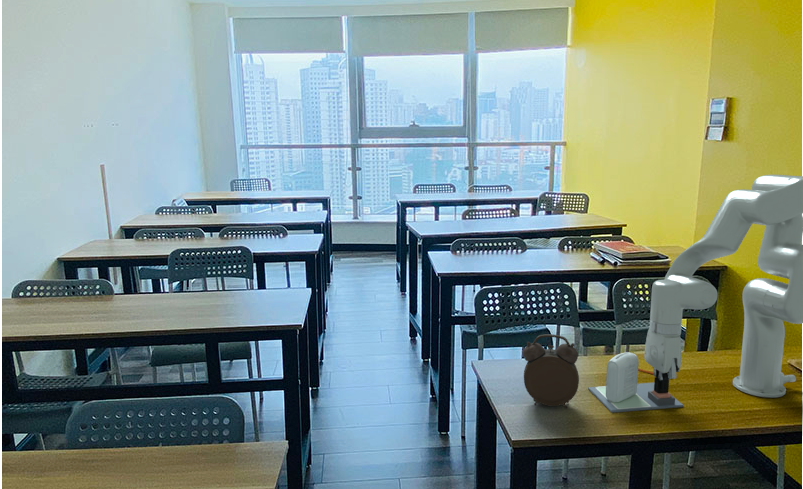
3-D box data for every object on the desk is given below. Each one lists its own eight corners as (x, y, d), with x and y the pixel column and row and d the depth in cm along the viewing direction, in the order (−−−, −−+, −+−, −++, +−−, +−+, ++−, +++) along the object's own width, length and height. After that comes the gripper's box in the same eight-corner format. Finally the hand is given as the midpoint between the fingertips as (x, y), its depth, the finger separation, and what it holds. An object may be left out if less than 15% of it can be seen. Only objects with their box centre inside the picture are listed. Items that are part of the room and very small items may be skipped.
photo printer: (625, 388, 156) (627, 347, 153) (639, 394, 152) (641, 351, 150) (602, 398, 150) (604, 356, 148) (616, 404, 146) (618, 361, 144)
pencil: (670, 380, 162) (670, 377, 162) (609, 363, 176) (609, 361, 176) (671, 379, 163) (671, 376, 163) (610, 363, 176) (610, 360, 176)
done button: (663, 396, 150) (663, 388, 149) (670, 401, 147) (670, 394, 146) (652, 397, 149) (652, 389, 149) (658, 402, 146) (659, 394, 146)
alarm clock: (577, 400, 151) (579, 331, 147) (578, 413, 144) (580, 341, 140) (523, 395, 155) (524, 328, 151) (521, 407, 148) (522, 337, 144)
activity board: (654, 384, 159) (654, 376, 159) (683, 406, 146) (683, 398, 145) (588, 389, 157) (588, 381, 157) (611, 412, 144) (611, 404, 143)
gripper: (636, 318, 151) (633, 381, 155) (668, 337, 137) (663, 405, 140) (662, 317, 152) (658, 379, 155) (696, 335, 137) (691, 403, 141)
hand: (661, 391), depth 148 cm, fingers closed
